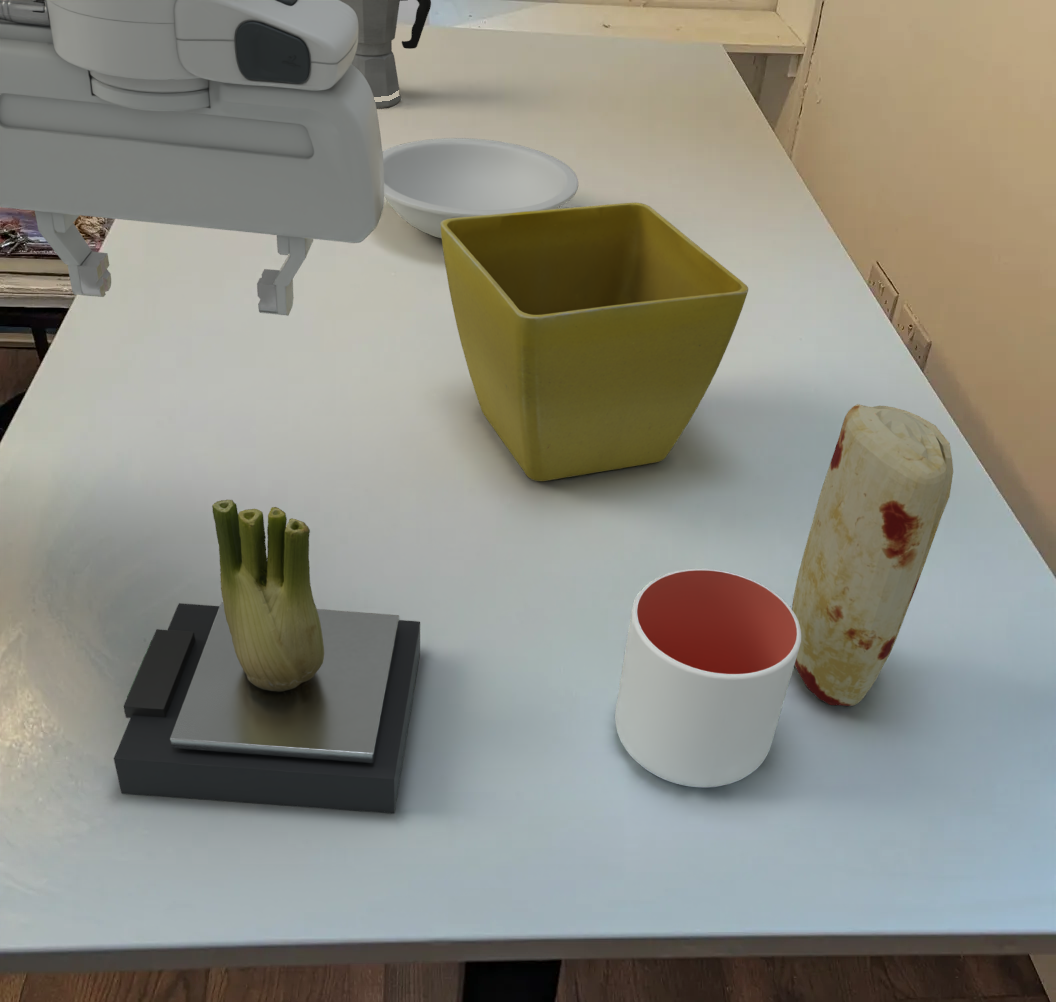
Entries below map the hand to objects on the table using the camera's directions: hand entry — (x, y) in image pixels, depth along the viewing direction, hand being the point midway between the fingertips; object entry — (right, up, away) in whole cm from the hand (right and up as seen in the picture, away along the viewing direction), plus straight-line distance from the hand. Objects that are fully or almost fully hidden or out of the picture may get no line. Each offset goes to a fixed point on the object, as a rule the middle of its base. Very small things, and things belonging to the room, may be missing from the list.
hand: (184, 300), depth 61 cm
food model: (+38, -21, +21) cm, 48 cm away
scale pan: (+3, -20, +12) cm, 24 cm away
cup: (+28, -24, +15) cm, 40 cm away
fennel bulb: (+2, -20, +11) cm, 23 cm away
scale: (+2, -23, +14) cm, 27 cm away
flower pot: (+21, -1, +43) cm, 48 cm away
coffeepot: (-4, +57, +112) cm, 126 cm away
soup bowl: (+11, +27, +77) cm, 82 cm away
